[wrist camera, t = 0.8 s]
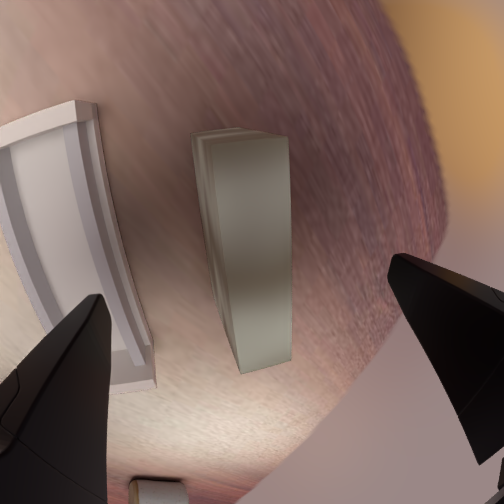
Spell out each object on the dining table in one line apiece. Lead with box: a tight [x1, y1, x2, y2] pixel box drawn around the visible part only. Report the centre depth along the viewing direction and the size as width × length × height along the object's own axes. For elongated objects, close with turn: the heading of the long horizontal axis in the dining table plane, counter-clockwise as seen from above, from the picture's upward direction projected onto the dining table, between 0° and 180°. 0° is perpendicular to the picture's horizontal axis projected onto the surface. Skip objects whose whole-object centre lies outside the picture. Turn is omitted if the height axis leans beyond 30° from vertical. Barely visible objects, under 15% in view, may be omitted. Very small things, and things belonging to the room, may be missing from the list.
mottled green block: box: [190, 127, 292, 374], centre depth 17 cm, size 12×3×8 cm, turn 5°
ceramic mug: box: [129, 480, 189, 504], centre depth 32 cm, size 11×8×8 cm
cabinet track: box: [0, 100, 157, 395], centre depth 16 cm, size 18×7×5 cm, turn 5°
